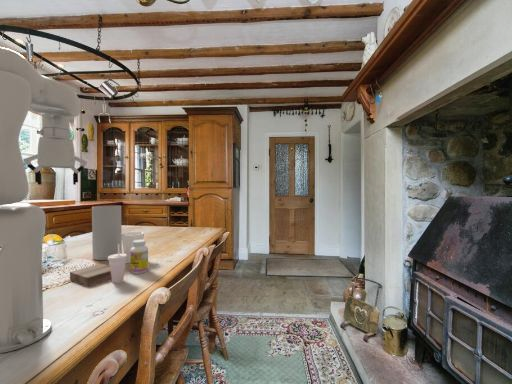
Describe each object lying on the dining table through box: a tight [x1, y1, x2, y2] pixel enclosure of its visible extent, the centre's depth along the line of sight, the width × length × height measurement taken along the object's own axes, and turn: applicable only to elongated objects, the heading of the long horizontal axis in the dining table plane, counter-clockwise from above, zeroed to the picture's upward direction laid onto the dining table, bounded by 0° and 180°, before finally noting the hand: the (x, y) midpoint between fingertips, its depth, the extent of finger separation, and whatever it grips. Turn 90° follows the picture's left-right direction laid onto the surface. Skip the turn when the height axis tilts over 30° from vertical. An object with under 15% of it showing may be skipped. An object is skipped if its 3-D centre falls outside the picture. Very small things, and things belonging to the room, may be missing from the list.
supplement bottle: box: [130, 239, 149, 275], centre depth 107 cm, size 7×7×13 cm
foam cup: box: [121, 231, 145, 264], centre depth 121 cm, size 10×9×13 cm
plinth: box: [69, 263, 112, 287], centre depth 100 cm, size 12×12×3 cm
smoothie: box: [107, 244, 127, 284], centre depth 96 cm, size 6×6×14 cm
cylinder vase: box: [91, 205, 123, 261], centre depth 128 cm, size 12×12×25 cm
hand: (57, 184), depth 90 cm, fingers open, 9 cm apart
